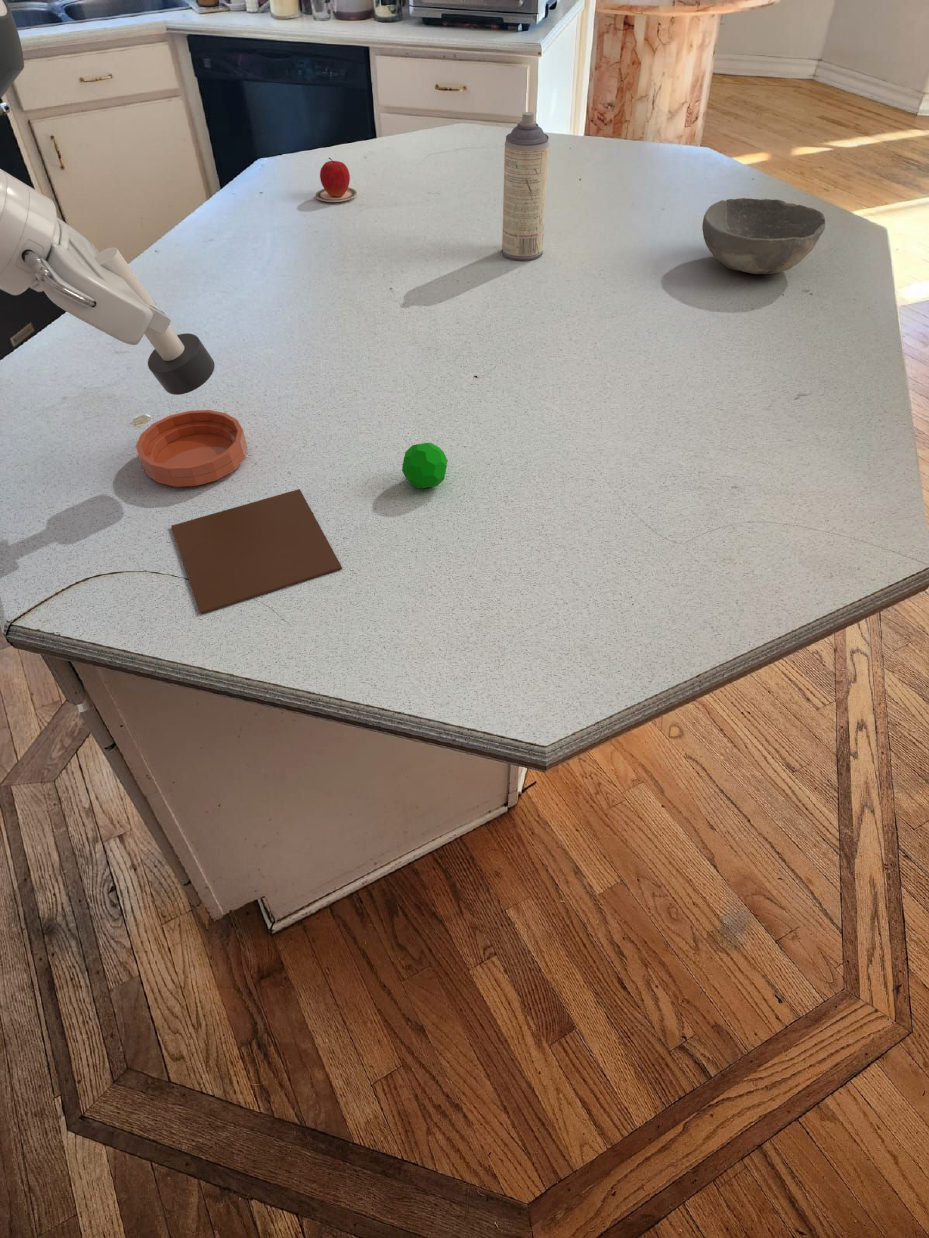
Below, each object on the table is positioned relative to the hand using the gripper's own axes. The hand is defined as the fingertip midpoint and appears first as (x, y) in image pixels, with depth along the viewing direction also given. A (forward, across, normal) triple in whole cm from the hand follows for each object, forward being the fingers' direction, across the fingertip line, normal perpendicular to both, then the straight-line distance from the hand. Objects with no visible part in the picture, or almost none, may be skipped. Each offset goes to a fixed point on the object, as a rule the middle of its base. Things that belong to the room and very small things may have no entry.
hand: (158, 317), depth 75 cm
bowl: (+77, -1, -53) cm, 94 cm away
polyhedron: (+25, -19, -1) cm, 32 cm away
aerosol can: (+59, +25, -34) cm, 73 cm away
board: (+11, -18, +13) cm, 25 cm away
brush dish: (+12, 0, +12) cm, 17 cm away
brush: (+6, 0, +4) cm, 7 cm away
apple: (+50, +68, -25) cm, 88 cm away
